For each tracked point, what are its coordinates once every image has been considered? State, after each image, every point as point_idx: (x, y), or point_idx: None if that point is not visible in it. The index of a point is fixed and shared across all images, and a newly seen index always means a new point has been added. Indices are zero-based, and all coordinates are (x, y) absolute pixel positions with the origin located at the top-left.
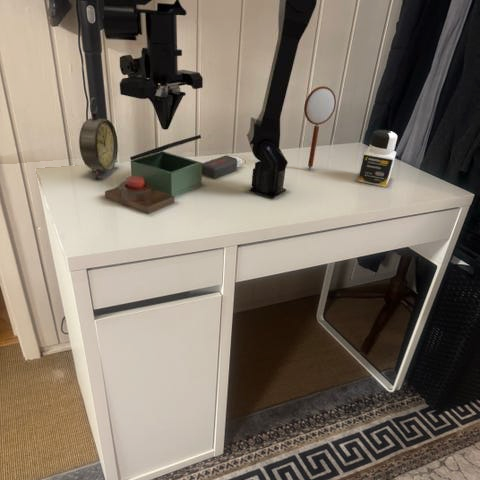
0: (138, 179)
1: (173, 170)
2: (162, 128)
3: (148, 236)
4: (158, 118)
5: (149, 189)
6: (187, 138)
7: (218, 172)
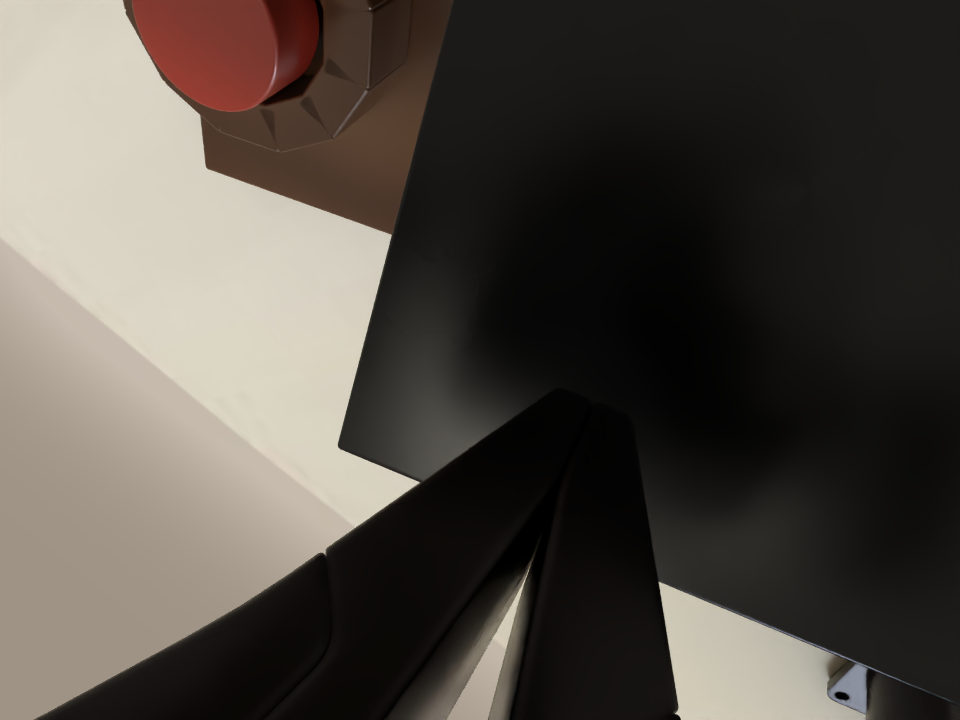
0: (217, 60)
1: None
2: (554, 398)
3: (85, 244)
4: (426, 482)
5: (269, 148)
6: (699, 596)
7: None
